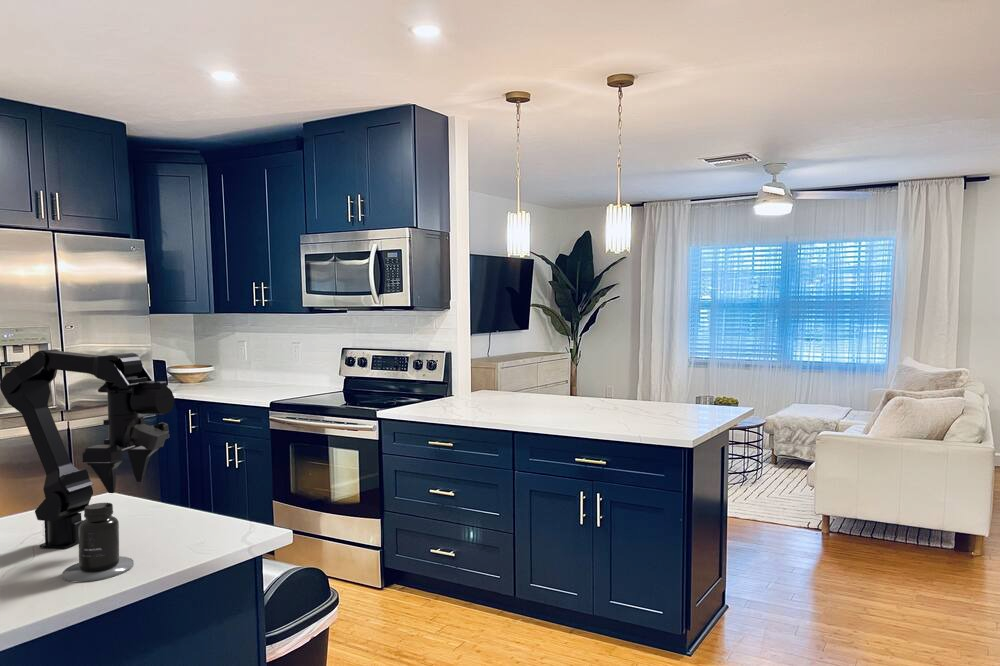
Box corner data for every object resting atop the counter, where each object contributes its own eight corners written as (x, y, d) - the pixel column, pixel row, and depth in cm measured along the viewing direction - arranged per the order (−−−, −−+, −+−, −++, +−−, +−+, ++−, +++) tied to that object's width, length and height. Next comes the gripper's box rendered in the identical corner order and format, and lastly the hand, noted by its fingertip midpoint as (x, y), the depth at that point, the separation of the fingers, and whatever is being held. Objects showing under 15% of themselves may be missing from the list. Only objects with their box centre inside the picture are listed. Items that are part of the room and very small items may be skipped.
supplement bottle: (85, 576, 130) (83, 513, 130) (74, 567, 135) (72, 506, 134) (125, 566, 135) (123, 505, 134) (113, 557, 140) (111, 498, 139)
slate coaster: (46, 581, 129) (46, 578, 129) (90, 558, 141) (90, 555, 141) (107, 582, 128) (107, 580, 128) (146, 559, 140) (146, 556, 140)
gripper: (132, 420, 136) (134, 499, 136) (184, 407, 154) (186, 476, 155) (78, 420, 137) (81, 499, 137) (137, 407, 155) (139, 476, 156)
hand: (125, 487), depth 146 cm, fingers open, 9 cm apart
